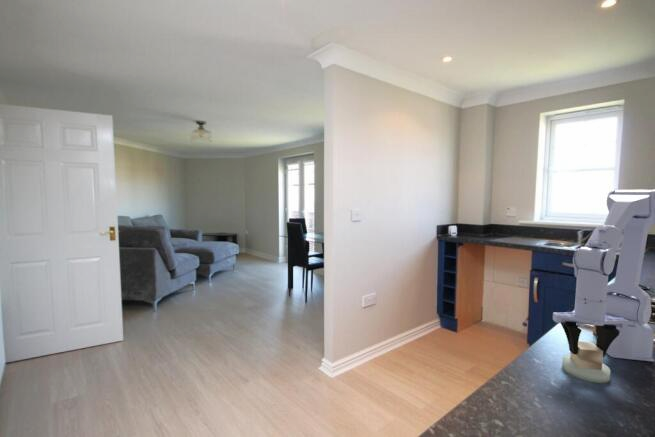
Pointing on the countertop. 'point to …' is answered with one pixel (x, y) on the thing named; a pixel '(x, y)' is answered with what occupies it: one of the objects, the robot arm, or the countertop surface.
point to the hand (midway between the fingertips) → (586, 353)
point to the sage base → (586, 371)
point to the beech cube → (588, 356)
